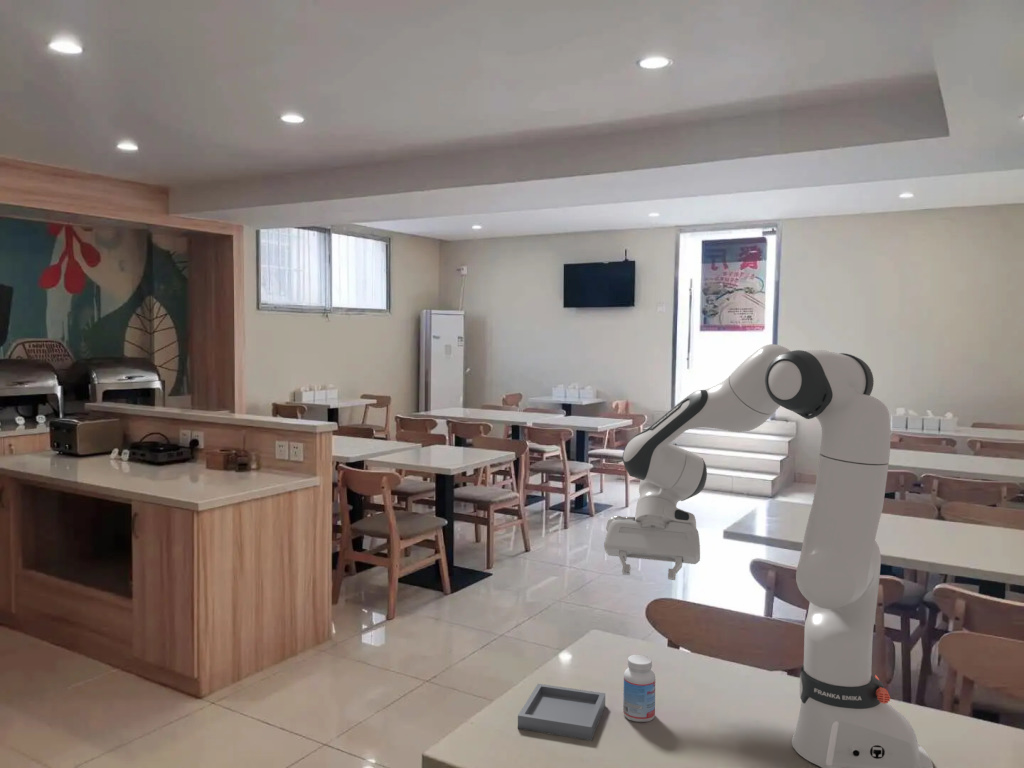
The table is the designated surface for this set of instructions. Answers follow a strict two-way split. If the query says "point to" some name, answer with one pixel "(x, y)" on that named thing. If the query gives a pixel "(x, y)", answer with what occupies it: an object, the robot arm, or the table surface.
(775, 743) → the table surface
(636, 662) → the pill bottle
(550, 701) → the tray
